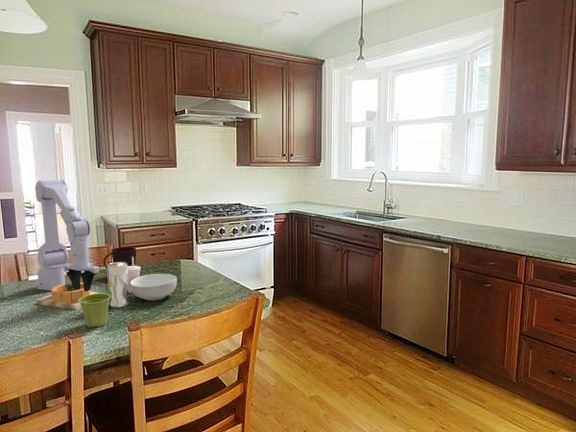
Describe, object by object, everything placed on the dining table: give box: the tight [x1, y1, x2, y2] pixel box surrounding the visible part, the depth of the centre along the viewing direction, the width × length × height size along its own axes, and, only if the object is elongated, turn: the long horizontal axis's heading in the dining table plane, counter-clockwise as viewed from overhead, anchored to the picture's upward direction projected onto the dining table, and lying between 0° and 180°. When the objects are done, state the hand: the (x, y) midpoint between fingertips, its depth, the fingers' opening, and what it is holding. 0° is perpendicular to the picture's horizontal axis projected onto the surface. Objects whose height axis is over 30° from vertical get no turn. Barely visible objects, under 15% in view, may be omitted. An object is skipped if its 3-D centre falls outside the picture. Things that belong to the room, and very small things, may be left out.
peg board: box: [35, 282, 105, 310], centre depth 159 cm, size 18×14×6 cm
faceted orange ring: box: [50, 281, 92, 303], centre depth 159 cm, size 12×12×4 cm
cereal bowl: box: [130, 273, 178, 301], centre depth 163 cm, size 17×17×7 cm
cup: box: [102, 246, 137, 270], centre depth 190 cm, size 10×14×12 cm
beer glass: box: [106, 262, 130, 308], centre depth 154 cm, size 7×7×15 cm
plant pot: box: [78, 292, 111, 328], centre depth 137 cm, size 9×9×9 cm
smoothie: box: [127, 257, 142, 294], centre depth 169 cm, size 6×6×14 cm
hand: (82, 290), depth 157 cm, fingers open, 4 cm apart
